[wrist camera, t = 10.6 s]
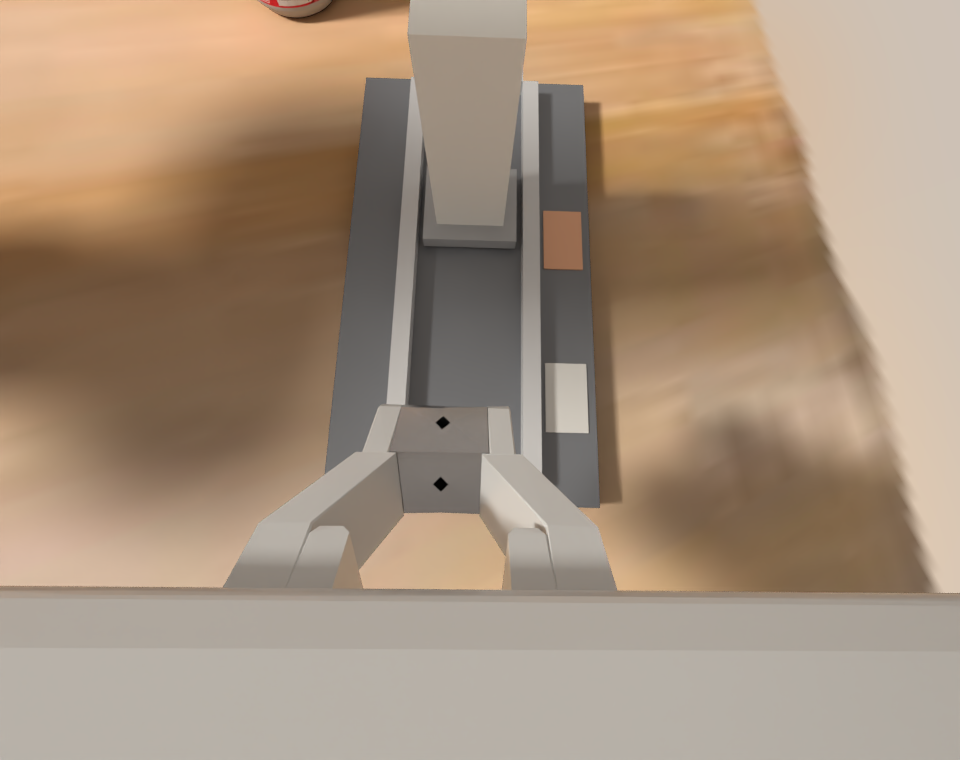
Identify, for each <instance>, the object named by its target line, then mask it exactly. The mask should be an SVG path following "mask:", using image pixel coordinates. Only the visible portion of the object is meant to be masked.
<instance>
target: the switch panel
mask: <svg viewBox="0 0 960 760" xmlns="http://www.w3.org/2000/svg"><path fill="white" fill-rule="evenodd" d="M427 166H428V164H427V158H426V151H425V145H424V138H423V132H422V125H421V119H420V112H419V106H418V99H417V93H416V86H415V80H414V77H411V79H390V78H366V86H365V95H364V105H363V114H362V124H361V133H360V143H359V152H358V162H357V171H356V181H355V190H354V200H353V209H352V219H351V229H350V238H349V248H348V257H347V267H346V276H345V286H344V295H343V305H342V314H341V324H340V333H339V343H338V352H337V362H336V371H335V381H334V390H333V400H332V409H331V419H330V428H329V438H328V448H327V457H326V467H325V474H326V473H328V472H329V471H330V470H332V469H333V468H334V467H336V466H337V465H338V464H340V463H341V462H343V461H344V460H345V459H347V458H348V457H349V456H351V455H352V454H353V453H355V452H362V451H363V449H364V446H365V443H366V440H367V437H368V435H369V432H370V429H371V426H372V423H373V421H374V418H375V415H376V412H377V409H378V407H379V406H380V405H381V404H401V405H403V404H404V405H429V406H446V407H488V406H508V407H509V408H510V412H511V420H512V428H513V437H514V445H515V453H516V454H522V455H523V456H524V457H525V458H526V459H527V460H529V461H530V462H531V463H532V464H533V465H534V466H535V467H536V468H537V469H538V470H539V471H540V472H541V473H542V474H543V475H544V476H545V477H546V478H547V479H548V480H549V481H550V482H551V483H552V484H553V485H555V486H556V487H557V488H558V489H559V490H560V491H561V492H562V493H563V494H564V495H565V496H566V497H567V498H568V499H569V500H570V501H571V502H572V503H573V504H574V505H575V506H576V507H584V508H600V497H599V472H598V446H597V421H596V396H595V371H594V346H593V320H592V295H591V270H590V245H589V220H588V195H587V169H586V144H585V119H584V94H583V85H560V84H538V81H523V72H522V80H521V88H520V96H519V104H518V112H517V120H516V128H515V136H514V144H513V152H512V160H511V168H510V169H517V213H516V246H515V249H507V248H474V247H441V246H424V243H423V223H424V206H425V190H426V174H427Z"/></svg>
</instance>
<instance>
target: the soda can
mask: <svg viewBox="0 0 960 760" xmlns="http://www.w3.org/2000/svg"><path fill="white" fill-rule="evenodd" d="M258 1H259V2H260V3H262V4H263V5H264V6H266V7H268V8H269V9H270V10H272V11H273V12H275V13H277V14H280V15H283V16H287V17H306V16H310V15H313V14H315V13H318V12H320V11H321V10H323V9H324V8H326V7H327V6H328V5H329V4H330V3H331V1H332V0H258Z"/></svg>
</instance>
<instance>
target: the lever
mask: <svg viewBox="0 0 960 760" xmlns="http://www.w3.org/2000/svg"><path fill="white" fill-rule="evenodd" d="M408 41H409V47H410V54H411V60H412V67H413V73H414V80H415V86H416V93H417V99H418V106H419V112H420V119H421V125H422V132H423V138H424V145H425V151H426V158H427V164H428V166H427V174H426V190H425V206H424V223H423V243H424V246H441V247H474V248H507V249H515V246H516V213H517V169H510V168H511V160H512V152H513V144H514V136H515V128H516V120H517V112H518V104H519V96H520V88H521V80H522V72H523V64H524V56H525V49H526V41H527V0H410V9H409V22H408Z"/></svg>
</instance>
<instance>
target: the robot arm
mask: <svg viewBox="0 0 960 760" xmlns="http://www.w3.org/2000/svg"><path fill="white" fill-rule="evenodd" d="M438 512H442V513H468V514H480V515H479V516H480V517H481V519H482V520H483V522H484V524H485V525H486V527H487V528H488V530H489V531H490V533H491V535H492V536H493V538H494V539H495V541H496V542H497V544H498V546H499V547H500V549H501V550H502V552H503V553H504V555H505V556H506V558H505V567H504V575H503V584H502V590H447V589H363V586H362V582H361V578H360V574H359V569H360V568H361V566H362V565H363V564H364V563H365V562H366V560H367V559H368V558H369V557H370V556H371V554H372V553H373V552H374V551H375V549H376V548H377V547H378V546H379V545H380V543H381V542H382V541H383V540H384V539H385V537H386V536H387V535H388V534H389V533H390V531H391V530H392V529H393V528H394V526H395V525H396V524H397V523H398V522H399V520H400V519H401V518H402V517H403V516H404V514H403V513H438ZM0 760H960V593H855V592H731V591H617V588H616V585H615V581H614V578H613V575H612V571H611V568H610V565H609V562H608V558H607V555H606V552H605V548H604V545H603V542H602V539H601V535H600V532H599V529H598V527H597V526H596V525H595V524H594V523H593V522H592V521H591V520H590V519H589V518H588V517H587V516H586V515H585V514H584V513H583V512H582V511H581V510H579V509H578V508H577V507H576V506H575V505H574V504H573V503H572V502H571V501H570V500H569V499H568V498H567V497H566V496H565V495H564V494H563V493H562V492H561V491H560V490H559V489H558V488H557V487H556V486H555V485H553V484H552V483H551V482H550V481H549V480H548V479H547V478H546V477H545V476H544V475H543V474H542V473H541V472H540V471H539V470H538V469H537V468H536V467H535V466H534V465H533V464H532V463H531V462H530V461H529V460H527V459H526V458H525V457H524V456H523V455H522V454H516V453H515V445H514V437H513V428H512V420H511V412H510V408H509V407H508V406H488V407H446V406H429V405H404V404H403V405H401V404H381V405H380V406H379V407H378V409H377V412H376V415H375V418H374V421H373V423H372V426H371V429H370V432H369V435H368V437H367V440H366V443H365V446H364V449H363V451H362V452H355V453H353V454H352V455H351V456H349V457H348V458H347V459H345V460H344V461H343V462H341V463H340V464H338V465H337V466H336V467H334V468H333V469H332V470H330V471H329V472H328V473H326V474H325V475H323V476H322V477H321V478H319V479H318V480H317V481H315V482H314V483H312V484H311V485H310V486H308V487H307V488H306V489H304V490H303V491H302V492H300V493H299V494H297V495H296V496H295V497H293V498H292V499H291V500H289V501H288V502H287V503H285V504H284V505H282V506H281V507H280V508H278V509H277V510H276V511H274V512H273V513H272V514H270V515H269V516H267V517H266V518H265V519H263V520H262V521H261V522H259V524H258V525H257V527H256V529H255V531H254V533H253V534H252V536H251V538H250V540H249V541H248V543H247V545H246V547H245V549H244V550H243V552H242V554H241V556H240V558H239V559H238V561H237V563H236V565H235V567H234V568H233V570H232V572H231V574H230V576H229V577H228V579H227V581H226V583H225V584H224V586H223V588H209V587H82V586H0Z"/></svg>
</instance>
